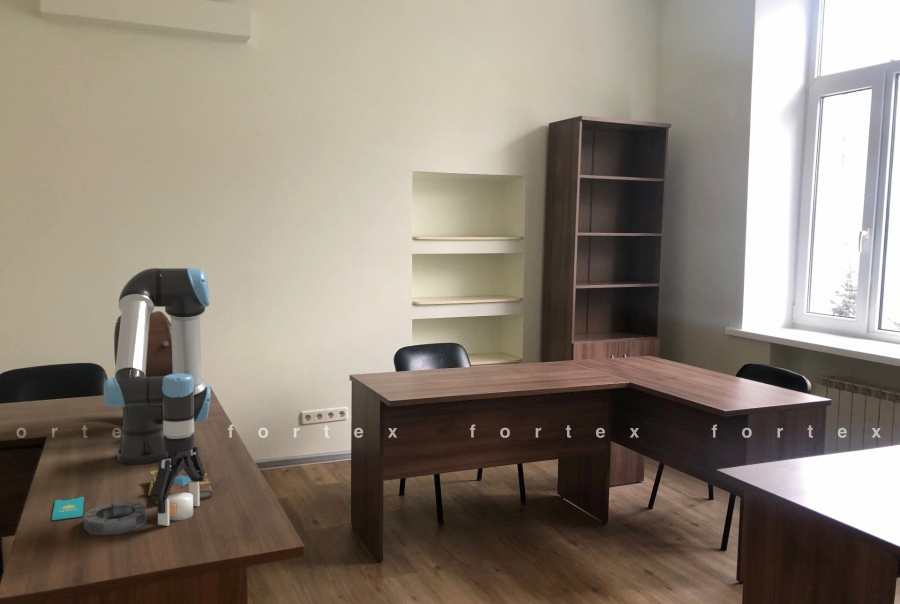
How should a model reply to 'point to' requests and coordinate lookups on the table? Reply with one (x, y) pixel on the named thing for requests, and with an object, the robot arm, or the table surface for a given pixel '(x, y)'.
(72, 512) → the smartphone
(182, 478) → the book
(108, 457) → the table surface
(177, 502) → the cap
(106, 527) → the faceted grey ring
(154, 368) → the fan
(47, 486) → the table surface
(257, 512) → the table surface
